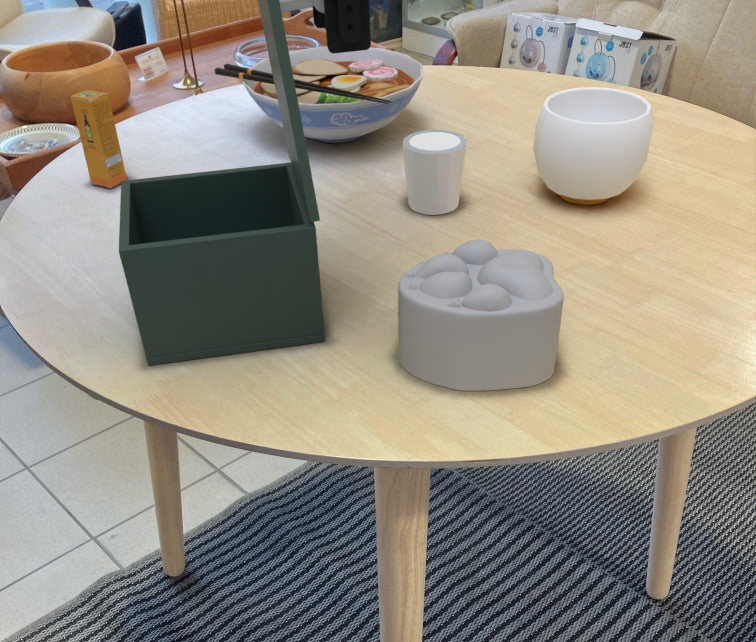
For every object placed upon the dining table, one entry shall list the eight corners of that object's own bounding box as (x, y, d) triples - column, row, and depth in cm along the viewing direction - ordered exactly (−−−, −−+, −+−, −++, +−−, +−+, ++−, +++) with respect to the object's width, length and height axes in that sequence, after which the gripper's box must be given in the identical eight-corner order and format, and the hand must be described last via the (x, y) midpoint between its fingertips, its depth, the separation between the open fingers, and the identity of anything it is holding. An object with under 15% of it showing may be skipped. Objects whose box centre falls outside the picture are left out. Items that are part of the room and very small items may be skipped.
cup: (661, 208, 93) (680, 116, 87) (557, 225, 91) (568, 133, 84) (608, 165, 102) (622, 79, 95) (512, 180, 100) (519, 93, 93)
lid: (265, -8, 57) (341, -23, 57) (247, -50, 67) (312, -63, 67) (310, 222, 68) (373, 209, 69) (289, 157, 78) (344, 146, 78)
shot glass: (455, 220, 93) (457, 155, 88) (395, 213, 94) (394, 149, 90) (471, 194, 97) (474, 131, 92) (413, 187, 99) (413, 125, 94)
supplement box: (130, 179, 103) (110, 91, 96) (110, 190, 101) (88, 101, 94) (110, 174, 104) (88, 87, 98) (90, 184, 102) (66, 96, 95)
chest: (148, 366, 74) (118, 250, 67) (147, 288, 84) (121, 180, 76) (325, 341, 76) (315, 227, 69) (304, 269, 86) (294, 161, 78)
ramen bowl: (463, 121, 114) (465, 54, 108) (366, 184, 100) (363, 111, 94) (312, 91, 124) (308, 28, 118) (207, 144, 111) (195, 76, 105)
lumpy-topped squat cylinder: (560, 386, 70) (574, 292, 64) (402, 394, 70) (401, 300, 64) (538, 319, 78) (548, 229, 72) (395, 326, 78) (393, 236, 72)
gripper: (248, -277, 59) (280, 13, 72) (277, -272, 47) (309, 78, 59) (355, -284, 60) (367, 4, 73) (410, -280, 48) (414, 66, 60)
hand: (341, 35), depth 66 cm, fingers closed on lid, 6 cm apart
